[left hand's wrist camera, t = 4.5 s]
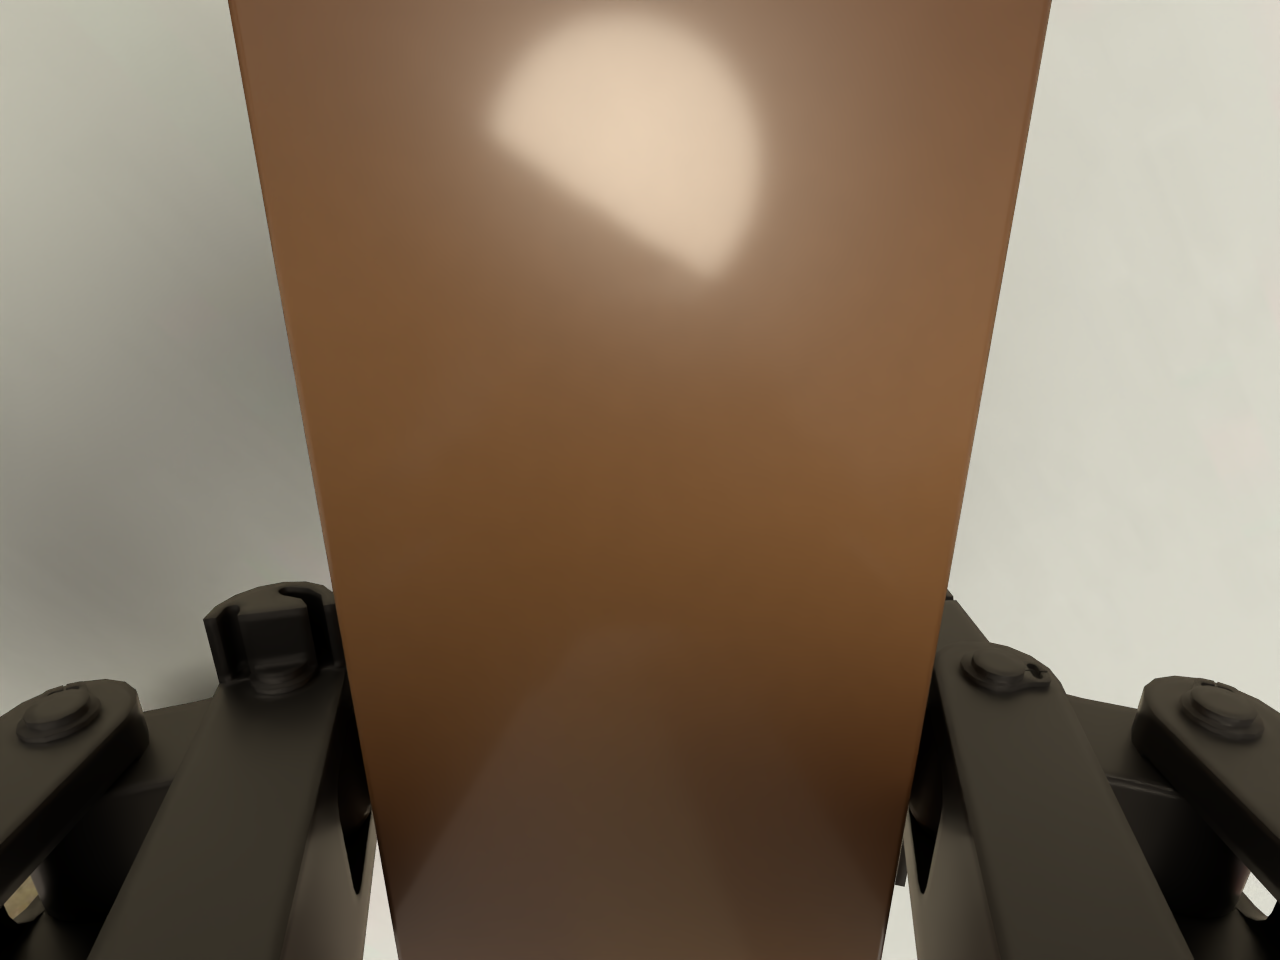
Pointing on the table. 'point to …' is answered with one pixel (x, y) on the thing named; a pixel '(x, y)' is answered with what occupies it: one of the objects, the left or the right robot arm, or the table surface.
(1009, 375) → the table surface
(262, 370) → the table surface
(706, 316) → the bar
